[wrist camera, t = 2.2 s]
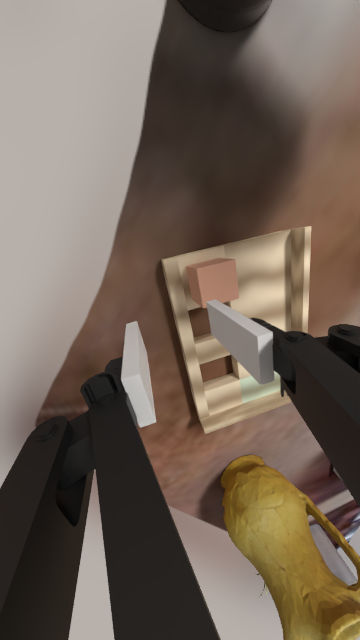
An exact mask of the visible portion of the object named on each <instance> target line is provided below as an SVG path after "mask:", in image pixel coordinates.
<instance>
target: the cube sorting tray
mask: <svg viewBox="0 0 360 640" xmlns="http://www.w3.org/2000/svg"><path fill="white" fill-rule="evenodd" d="M310 248H311V226H309V227H302V228H295V229H288V230H283V231H279V232H274V233H270V234H266V235H262V236H258V237H253V238H249V239H245V240H241V241H236V242H232V243H228V244H224V245H219V246H215V247H211V248H207V249H203V250H198V251H194V252H190V253H186V254H181V255H177V256H173V257H169V258H164V259H160V260H161V264H162V268H163V273H164V277H165V281H166V285H167V290H168V294H169V298H170V302H171V306H172V311H173V315H174V319H175V323H176V327H177V332H178V336H179V340H180V344H181V349H182V353H183V357H184V361H185V365H186V370H187V374H188V378H189V382H190V386H191V391H192V395H193V399H194V403H195V408H196V412H197V415H198V417H199V420H200V422H201V425H202V428H203V430H204V433H205V434H207V433H209V432H212V431H215V430H217V429H220V428H223V427H226V426H228V425H231V424H234V423H236V422H239V421H242V420H244V419H247V418H250V417H252V416H255V415H258V414H260V413H263V412H266V411H268V410H271V409H274V408H277V407H279V406H282V405H285V404H287V403H290V402H292V401H291V399H290V398H289V396H287V393H286V391H284V397H281V393H280V375H279V374H278V373H277V372H275V371H274V381H272V382H269V383H266V384H263V385H260V384H259V383H258V382H257V381H256V380H255V379H254V378H253V377H252V376H251V375H250V374H249V373H248V371H247V370H246V369H245V368H244V367H243V366H242V365H241V364H240V363H239V362H238V361H237V360H236V359H235V358H234V357H233V356H232V355H231V354H230V353H229V352H228V351H227V350H226V349H225V347H224V346H223V345H222V344H221V343H220V342H219V341H218V340H217V339H216V338H215V337H214V336H213V335H212V334H211V332H210V333H207V334H204V335H200V336H197V337H194V338H193V333H192V328H191V323H190V318H189V314H188V310H192V309H196V308H199V307H201V306H200V305H198V304H197V303H196V302H195V301H193V300H192V296H191V290H190V285H189V280H188V275H187V270H186V266H188V265H192V264H196V263H200V262H204V261H209V260H213V259H217V258H226V259H235V261H236V271H237V281H238V291H239V299H235V300H232V301H228V302H225V303H224V304H225V305H226V306H228V307H230V308H232V309H233V310H235V311H237V312H239V313H240V314H242V315H244V316H246V317H247V318H249V319H250V318H253V317H254V318H258V319H262V320H264V321H266V322H267V323H269V324H271V325H273V326H275V327H277V328H279V329H281V330H283V331H285V332H288V331H301V332H305V333H307V330H308V302H309V275H310ZM228 355H231V358H232V366H233V373H230V374H227V375H224V376H221V377H218V378H215V379H212V380H209V381H206V382H202V377H201V372H200V367H199V365H200V364H203V363H206V362H209V361H212V360H215V359H218V358H222V357H225V356H228Z"/></svg>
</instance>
